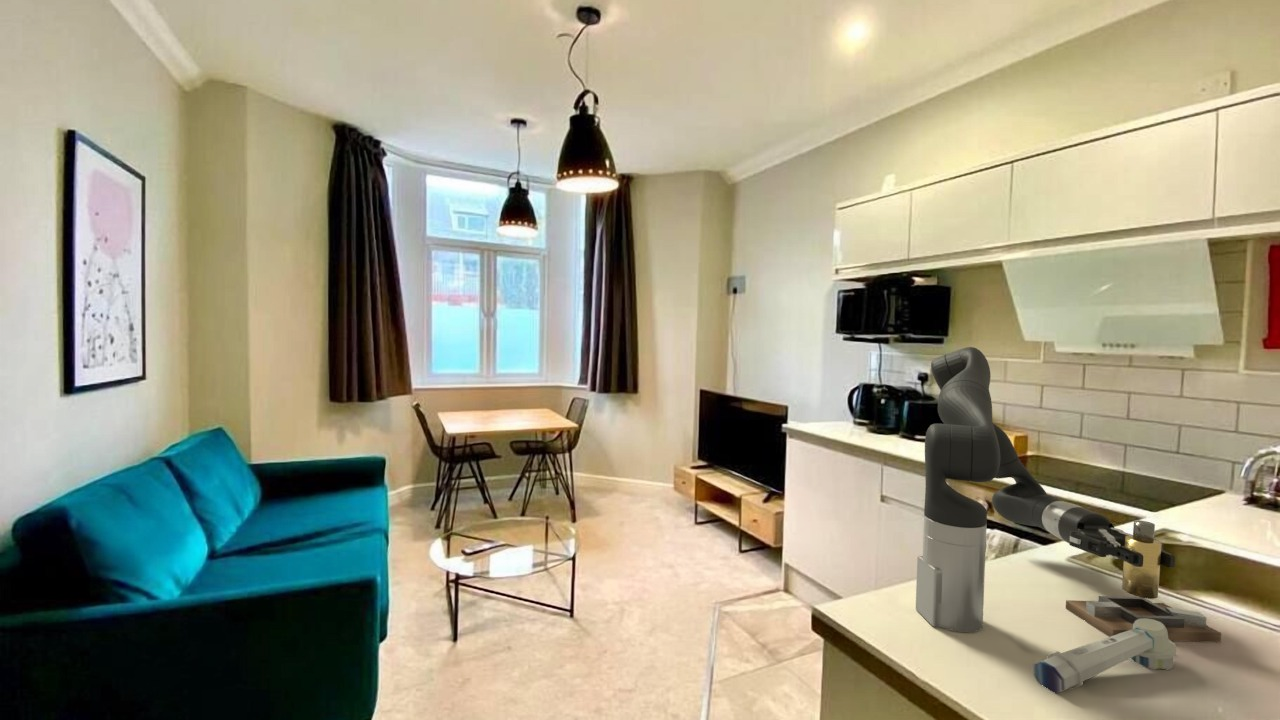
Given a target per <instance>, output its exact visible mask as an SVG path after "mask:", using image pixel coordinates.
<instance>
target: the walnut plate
mask: <svg viewBox="0 0 1280 720" xmlns="http://www.w3.org/2000/svg"><path fill="white" fill-rule="evenodd" d="M1086 601H1087V600H1068V599H1066V600H1065V609H1066V610H1067V611H1069V612H1071V613H1072V614H1073V615H1074V616H1077V617H1078V618H1079V619H1081V620H1083V621H1084V620H1085V621H1084V622H1086V623H1087V624H1089V625H1090V626H1092V627H1094V628H1096V629H1097V630H1098V631H1099V632H1102V633H1103V634H1104V635H1106V636H1108V637H1111V636H1114V635H1117V634H1120V633H1123V632H1126V631H1129V630H1132V629H1133V624H1131V623H1129V622H1128V621H1126V620H1124V619H1122V618H1116V617H1094V616H1092V615H1090V614H1089V613H1087V612H1086ZM1093 601H1094V602H1098V600H1093ZM1154 603H1155V604H1157V605H1159V606H1161V607H1163V608H1164V609H1166V607H1168V608H1173V607H1172V606H1170V605H1168V604H1166V603H1164V602H1154ZM1124 608H1125V609H1127V610H1129V611H1131V612H1132V613H1134V614H1136V615H1146V616H1156V615H1154V614H1153V613H1151V612H1149V611H1147V610H1145V609H1143V608H1141V607H1124ZM1166 629H1167V633H1168V638H1169V640H1170V641H1172V642H1173V641H1175V642H1176V641H1177V642H1179V641H1180V642H1205V643H1207V642H1209V643H1211V642H1212V643H1214V642H1215V643H1222V632H1221V631H1218V630H1217V629H1215V628H1213V627H1211V626H1209V625H1207V624H1206V628H1201V627H1195V626H1189V625H1184V628H1166Z"/></svg>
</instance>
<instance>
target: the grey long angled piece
mask: <svg viewBox="0 0 1280 720" xmlns="http://www.w3.org/2000/svg"><path fill="white" fill-rule="evenodd" d="M1175 656H1176V657H1177V645H1176V644H1175V643H1174V642H1173V641H1170V640H1169V638H1168V633H1167V629H1166V627H1165V626H1164V625H1163V624H1162V623H1161V622H1159V621H1156V620H1153V619H1148V618H1141V619H1138V620H1136V621H1135V622H1134V624H1133V629H1132V630H1129V631H1126V632H1123V633H1120V634H1117V635H1114V636H1111V637H1109V636H1108V637H1105V638H1102V639H1099V640H1096V641H1093V642H1091V643H1087V644H1084V645H1081V646H1079V647H1075V648H1072V649H1069V650H1067V651H1063V652H1060V651H1059V650H1057V651H1055V652H1052V653H1050V654H1047V656H1046V658H1045V659H1043V660H1041V661H1039V662H1036V663H1035V664H1033V665H1032V670H1033V671H1032V673H1033V677H1034V678H1035V680H1036V681H1037V683H1038V684H1039V685H1041V686H1042V685H1043V686H1042V687H1044V688H1045V687H1046V689H1047V688H1048V690H1049V691H1050V692H1052V693H1054V692H1055V693H1054V694H1058V693H1061V692H1062V691H1065V690H1067V689H1070V687H1071V689H1072V688H1073V689H1076V688H1079V687H1082V686H1083V683H1084V682H1085V681H1086V680H1088V679H1090V678H1092V677H1094V676H1096V675H1099V674H1100V673H1103V672H1104V671H1107V670H1109V669H1111V668H1113V667H1115V666H1117V665H1119V664H1122V663H1123V662H1125V661H1127V660H1130V659H1131V660H1132V661H1133V662H1135V663H1136V664H1138V665H1141V666H1143V667H1145V668H1150V669H1152V670H1157V669H1163V670H1165V671H1169V670H1171V669H1173V668H1174V657H1175Z"/></svg>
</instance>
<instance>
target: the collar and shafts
mask: <svg viewBox="0 0 1280 720" xmlns="http://www.w3.org/2000/svg"><path fill="white" fill-rule="evenodd" d="M1085 601H1086V612H1087V613H1089V614H1090V615H1092V616H1094V617H1116V618H1122V619H1124V620H1126V621H1128V622H1129V623H1131V624H1134V622H1135V621H1136V620H1138V619H1141V618H1148V619H1153V620H1156V621H1159V622H1161V623H1162V624H1163V625H1164V626H1165V627H1166V628H1184V625H1189V626H1195V627H1201V628H1206V625H1207V616H1206V615H1204V614H1203V613H1202V612H1199V611H1194V610H1188V609H1180V608H1174V607H1172V608H1168V607H1166V609H1164V608H1163V607H1161V606H1159V605H1157V604H1155V603H1156V602H1153V601H1151V600H1150V599H1148V598H1142V597H1138V596H1122V595H1121V596H1120V595H1119V596H1115V595H1114V596H1113V595H1111V596H1110V595H1098V599H1097V601H1098V602H1094V601H1095V600H1085ZM1124 607H1141V608H1143V609H1145V610H1147V611H1149V612H1151V613H1153V614H1154V615H1156V616H1146V615H1136V614H1134V613H1132V612H1131V611H1129V610H1127V609H1125V608H1124Z"/></svg>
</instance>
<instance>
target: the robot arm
mask: <svg viewBox="0 0 1280 720" xmlns="http://www.w3.org/2000/svg"><path fill="white" fill-rule="evenodd" d="M930 368H931V373H932V376H933V379H934V380H935V382H936V384H937V386H938V389H939V390H940V392H939V395H938V401H937V402H938V403H937V414H938V416H939V418H940V420H941V421H942V423H933V424H930V425H929V427H928V428H927V430H926V432H925V437H924V467H925V468H924V469H925V470H924V472H925V477H924V478H925V479H924V480H925V488H924V489H925V491H924V492H925V494H924V506H923V507H924V508H923V509H924V510H923V534H922V535H923V536H922V555H919V556H917V560H916V561H917V562H916V586H915V587H916V588H915V610H916V611H917V613H919V614H920V615H921V616H922V617H923V618H924V619H925V620H926V621H927V622H928V623H929V624H930V625H931V626H932V627H934V628H935V627H937V628H938V627H940V628H943V629H946V630H950V631H954V632H960V633H961V632H962V633H972V632H973V633H974V632H978V631H980V630H982V628H983V621H984V599H985V597H984V596H985V595H984V594H985V575H986V574H985V573H986V571H985V570H986V549H987V547H986V545H987V526H988V525H987V522H988V521H987V520H988V512H987V508H986V507H985V505H983V504H982V503H980V502H979V501H977V500H976V499H972V498H971V497H968V496H967V495H964V494H962V493H961V492H958V491H957V490H955V489H954V488H952V487H951V486H950V485H949V484H948V483H947V481H946V480H947V479H949V480H954V481H964V482H971V483H987V482H991V481H992V480H994V479H999V480H1000V479H1006V478H1007V479H1008V478H1012V479H1013V480H1014V481H1015V483H1013V484H1011V485H1008V486H1005V487H1003V488H1000V489H998V490H997V491H995V492H994V493H993V494H992V499H991V503H992V507H993V509H994V510H995V511H996V512H997V514H998V515H999V516H1001V517H1002V518H1003V519H1004V520H1007V521H1008V522H1009V521H1010V522H1012V523H1014V524H1019V525H1023V526H1030V527H1038V528H1040V529H1042V530H1044V531H1046V532H1048V533H1051V535H1053V536H1055V537H1056V538H1058V539H1060V540H1061V541H1063V542H1066V543H1067V544H1069V546H1071V547H1073V548H1076V549H1079V550H1081V551H1084V552H1086V553H1089V554H1093V555H1095V556H1098V557H1101V558H1106V557H1107V556H1109V557H1110V558H1112V559H1114V560H1121V561H1123V562H1124V561H1126V562H1128V563H1130V564H1132V565H1134V566H1136V567H1142V566H1143V555H1142V554H1141V553H1139V552H1136V551H1134V550H1132V549H1129V548H1127V547H1125V536H1128V535H1133V533H1132V534H1131V533H1128V532H1125V531H1124V530H1122V529H1120V528H1115V526H1114V524H1113V523H1112V521H1111V520H1110V519H1108V517H1106V516H1105V515H1103V514H1100V513H1098V512H1095V511H1093V510H1090V509H1087V508H1085V507H1083V506H1080V505H1078V504H1074V503H1072V502H1067V501H1064V500H1061V499H1059V498H1058V497H1055V496H1051V495H1048V494H1047V492H1046V490H1045V489H1044V488H1043V486H1042V485H1041V484H1040V483H1039V482H1038V481H1037V480H1036V478H1035V477H1034V476H1032V474H1031V473H1030V471H1029V470H1028V469H1027V468H1026V467H1025V465H1024V464H1023V463H1022V461H1021V460H1020V457H1019V455H1018V453H1017V451H1016V449H1015V447H1014V445H1013V443H1012V440H1010V437H1009V436H1008V435H1007V433H1006V432H1005V431H1004V430H1003V429H1002V428H1001V427H999V425H996V423H994V422H993V403H992V397H991V391H990V384H991V368H990V365H989V362H988V359H987V358H986V355H984V353H983V352H982V351H981V350H979V349H978V348H977V347H973V346H968V347H962V348H960V349H958V350H955V351H952V352H949V353H946V354H943V355H941V356H938V357H936V358H934V359H932V360H931V363H930ZM1154 540H1156V541H1158V540H1157V539H1155V538H1154ZM1159 542H1160V543H1161V544H1162V545H1161V559H1160V566H1164V567H1166V568H1171V569H1172V568H1174V567H1175V564H1176V563H1175V562H1176V556H1175V555H1174V554H1173V553H1170V552H1168V551H1166V550H1164V543H1162V542H1161V541H1159Z"/></svg>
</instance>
